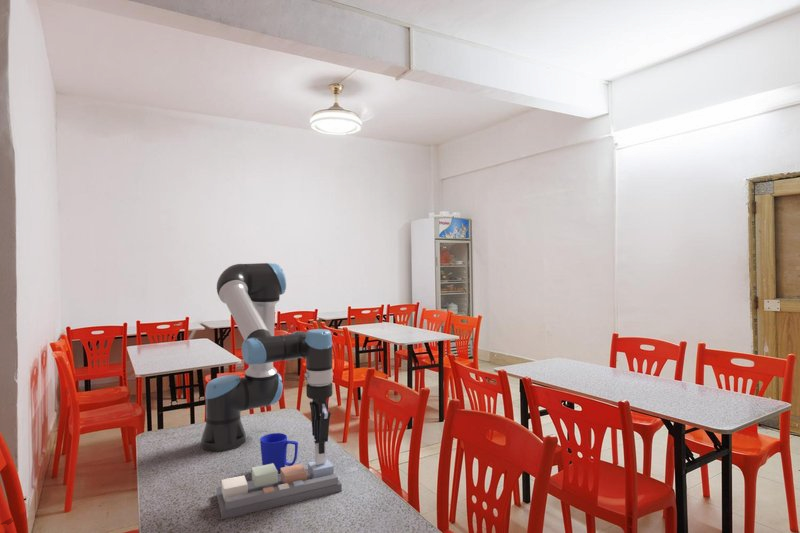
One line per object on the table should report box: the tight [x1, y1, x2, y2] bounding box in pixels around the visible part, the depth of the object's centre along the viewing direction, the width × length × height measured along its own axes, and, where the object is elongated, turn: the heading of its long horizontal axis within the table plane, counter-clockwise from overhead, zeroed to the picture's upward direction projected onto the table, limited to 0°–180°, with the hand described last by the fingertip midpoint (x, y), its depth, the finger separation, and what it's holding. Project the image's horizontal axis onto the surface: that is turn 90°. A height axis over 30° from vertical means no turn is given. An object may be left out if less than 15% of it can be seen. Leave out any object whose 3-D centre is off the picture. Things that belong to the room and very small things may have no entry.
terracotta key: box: [280, 463, 307, 484], centre depth 136 cm, size 6×6×3 cm
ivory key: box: [221, 475, 248, 501], centre depth 129 cm, size 6×6×3 cm
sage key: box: [251, 463, 279, 487], centre depth 132 cm, size 6×6×3 cm
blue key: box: [307, 458, 335, 479], centre depth 139 cm, size 6×6×3 cm
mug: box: [259, 432, 299, 473], centre depth 149 cm, size 8×12×10 cm
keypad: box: [215, 468, 343, 520], centre depth 134 cm, size 14×32×4 cm, turn 116°
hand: (320, 462), depth 139 cm, fingers closed
